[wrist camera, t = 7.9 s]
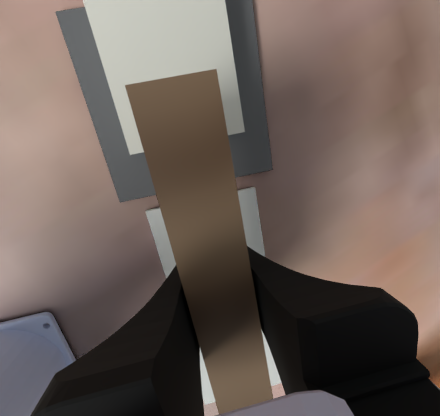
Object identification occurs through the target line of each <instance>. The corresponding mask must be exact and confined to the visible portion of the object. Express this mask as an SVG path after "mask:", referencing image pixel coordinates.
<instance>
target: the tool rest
mask: <svg viewBox="0 0 440 416" xmlns="http://www.w3.org/2000/svg"><path fill="white" fill-rule="evenodd" d="M237 191H238V197H239V203H240V208H241V214H242V220H243V226H244V232H245V238H246V243H247V246H248V247H250V248H251V249H253V250H254V251H256V252H257V253H259V254H261V255H262V256H264V257H265V251H264V244H263V237H262V231H261V224H260V217H259V210H258V204H257V197H256V190H255V187H249V188H245V189H240V190H237ZM146 215H147V218H148V221H149V224H150V228H151V231H152V234H153V237H154V241H155V244H156V247H157V250H158V254H159V257H160V260H161V263H162V267H163V270H164V273H165V276H166V279H167V277H168V276H169V274H170V273H171V271H172V270H173V268H174V267H175V266H176V262H175V259H174V255H173V252H172V248H171V245H170V241H169V238H168V234H167V231H166V227H165V224H164V220H163V217H162V213H161V210H160V207H158V208H154V209H149V210H146ZM261 331H262V330H261ZM262 336H263V342H264V348H265V354H266V360H267V365H268V371H269V377H270V383H271V386H273V385H276V384H280V383H282V382H281V379H280V376H279V374H278V371H277V368H276V365H275V362H274V359H273V357H272V354H271V351H270V348H269V346H268V343H267V341H266V338H265V336H264V334H263V332H262ZM200 371H201V384H202V396H203V400H204V403H205V405H206V404H210V403H213V402H216V401H215V398H214V395H213V391H212V388H211V384H210V381H209V377H208V374H207V370H206V367H205V363H204V360H203V356H202V353H201V349H200Z"/></svg>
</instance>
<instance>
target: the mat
mask: <svg viewBox="0 0 440 416" xmlns="http://www.w3.org/2000/svg"><path fill="white" fill-rule="evenodd" d="M225 3H226V10H227V16H228V23H229V30H230V36H231V43H232V50H233V56H234V63H235V70H236V76H237V83H238V89H239V96H240V103H241V109H242V116H243V123H244V129H245V132H242V133H238V134H233V135H228V139H229V145H230V150H231V156H232V162H233V168H234V174H235V178H236V177H241V176H245V175H250V174H255V173H259V172H264V171H269V170H273V168H272V160H271V152H270V143H269V135H268V127H267V119H266V110H265V102H264V94H263V86H262V77H261V69H260V61H259V53H258V44H257V36H256V28H255V20H254V11H253V3H252V0H225ZM56 15H57V18H58V21H59V24H60V27H61V30H62V33H63V36H64V39H65V42H66V45H67V48H68V50H69V53H70V56H71V59H72V62H73V65H74V68H75V71H76V74H77V77H78V80H79V83H80V86H81V89H82V92H83V95H84V98H85V101H86V104H87V107H88V109H89V112H90V115H91V118H92V121H93V124H94V127H95V130H96V133H97V136H98V139H99V142H100V145H101V148H102V151H103V154H104V157H105V160H106V163H107V166H108V168H109V171H110V174H111V177H112V180H113V183H114V186H115V189H116V192H117V195H118V198H119V201H120V202H124V201H129V200H134V199H138V198H143V197H148V196H152V195H156V192H155V189H154V185H153V182H152V178H151V175H150V171H149V168H148V164H147V161H146V157H145V154H144V153H139V154H133V155H130V153H129V150H128V147H127V143H126V140H125V137H124V134H123V130H122V127H121V124H120V120H119V117H118V114H117V111H116V107H115V104H114V101H113V98H112V94H111V91H110V88H109V84H108V81H107V78H106V75H105V71H104V68H103V65H102V61H101V58H100V55H99V52H98V48H97V45H96V42H95V39H94V35H93V32H92V29H91V25H90V22H89V19H88V16H87V12H86V9H85V7H83V8H76V9H70V10H63V11H57V12H56Z"/></svg>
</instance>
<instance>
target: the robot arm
mask: <svg viewBox="0 0 440 416" xmlns="http://www.w3.org/2000/svg"><path fill="white" fill-rule="evenodd" d="M247 249H248V255H249V261H250V267H251V272H252V278H253V284H254V290H255V296H256V302H257V307H258V313H259V319H260V325H261V330H262V332H263V334H264V336H265V338H266V341H267V343H268V346H269V348H270V351H271V354H272V357H273V359H274V362H275V365H276V368H277V371H278V374H279V376H280V379H281V382H282V385H283V388H284V391H285V394H286V395H285V396H281V397H278V398H274V399H271V400H267V401H264V402H260V403H257V404H254V405H250V406H247V407H243V408H240V409H236V410H233V411H229V412H226V413H222V414H219V415H216V416H440V389H439V388H438V387H437V386H436V385H435V384H433V383H432V382H431V381H430V380H429V379H428V377H430V373H429V371H428V369H427V368H426V367H425V366H424V365H422V364H421V363H420V362H419V361H418V360H417V359H416V355H417V344H418V322H417V320H416V317H415V315H414V313H412V312H411V311H410V310H409V309H408V308H407V307H406V306H405V305H403V304H402V303H401V302H399V301H398V300H397V299H395V298H394V297H392V296H391V295H390V294H388V293H387V292H386V291H384V290H383V289H381V288H377V287H367V286H357V285H349V284H343V283H337V282H332V281H327V280H322V279H319V278H315V277H311V276H308V275H304V274H301V273H299V272H296V271H293V270H290V269H288V268H286V267H283V266H281V265H279V264H277V263H275V262H273V261H271V260H269V259H267V258H266V257H264V256H262V255H261V254H259V253H257V252H256V251H254V250H253V249H251V248H250V247H248V246H247ZM47 323H48V324H50V325H48V324H47ZM0 416H204V407H203V396H202V384H201V371H200V346H199V342H198V339H197V335H196V332H195V328H194V325H193V321H192V318H191V314H190V311H189V307H188V304H187V300H186V297H185V293H184V290H183V286H182V283H181V279H180V276H179V272H178V269H177V265H176V266H175V267H174V268H173V270H172V271H171V273H170V274H169V276H168V277H167V279H166V280H165V282H164V283H163V284H162V286H161V287H160V288H159V289H158V291H157V292H156V293H155V294H154V296H153V297H152V298H151V299H150V300H149V302H148V303H147V304H146V305H145V306H144V307H143V308H142V309H141V310H140V311H139V312H138V313H137V314H136V315H135V316H134V317H133V318H132V319H130V320H129V321H128V322H127V323H126V324H125V325H124V326H122V327H121V328H120V329H119V330H118V331H117V332H115V333H114V334H113V335H112V336H110V337H109V338H108V339H106V340H105V341H104V342H102V343H101V344H100V345H98V346H97V347H95V348H94V349H93V350H91V351H90V352H88V353H87V354H85V355H84V356H82V357H81V358H79V359H78V360H76V359H75V357H74V355H73V353H72V351H71V349H70V347H69V345H68V343H67V341H66V340H65V338H64V336H63V334H62V332H61V330H60V328H59V326H58V324H57V322H56V320H55V318H54V316H53V315H52V314H51V313H49V312H42V313H38V314H34V315H30V316H26V317H22V318H18V319H14V320H10V321H5V322H1V323H0Z"/></svg>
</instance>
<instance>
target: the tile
mask: <svg viewBox="0 0 440 416" xmlns="http://www.w3.org/2000/svg"><path fill="white" fill-rule="evenodd" d="M83 2H84V6H85V9H86V12H87V16H88V19H89V22H90V25H91V29H92V32H93V35H94V39H95V42H96V45H97V48H98V52H99V55H100V58H101V61H102V65H103V68H104V71H105V75H106V78H107V81H108V84H109V88H110V91H111V94H112V98H113V101H114V104H115V107H116V111H117V114H118V117H119V120H120V124H121V127H122V130H123V134H124V137H125V140H126V143H127V147H128V150H129V153H130V155H133V154H139V153H144V150H143V147H142V143H141V140H140V136H139V133H138V129H137V126H136V122H135V119H134V116H133V112H132V109H131V105H130V102H129V98H128V95H127V91H126V88H125V85H129V84H134V83H140V82H145V81H151V80H157V79H162V78H168V77H173V76H179V75H185V74H190V73H196V72H201V71H207V70H213V69H217V75H218V81H219V86H220V92H221V98H222V104H223V110H224V115H225V121H226V127H227V133H228V135H233V134H238V133H242V132H245V129H244V123H243V116H242V109H241V103H240V96H239V89H238V83H237V76H236V70H235V63H234V56H233V50H232V43H231V36H230V30H229V23H228V16H227V10H226V3H225V0H83Z"/></svg>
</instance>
